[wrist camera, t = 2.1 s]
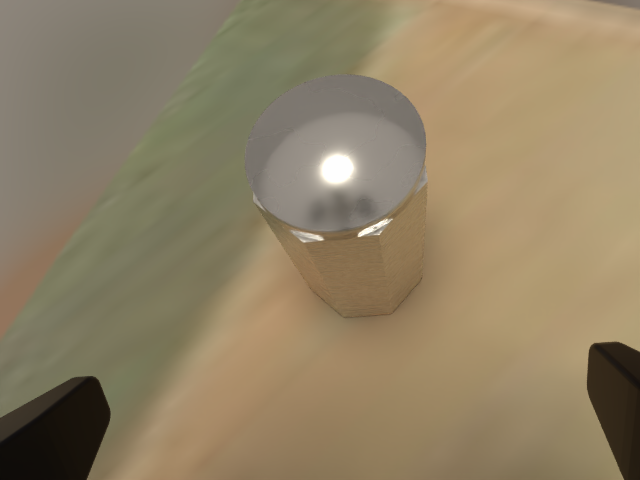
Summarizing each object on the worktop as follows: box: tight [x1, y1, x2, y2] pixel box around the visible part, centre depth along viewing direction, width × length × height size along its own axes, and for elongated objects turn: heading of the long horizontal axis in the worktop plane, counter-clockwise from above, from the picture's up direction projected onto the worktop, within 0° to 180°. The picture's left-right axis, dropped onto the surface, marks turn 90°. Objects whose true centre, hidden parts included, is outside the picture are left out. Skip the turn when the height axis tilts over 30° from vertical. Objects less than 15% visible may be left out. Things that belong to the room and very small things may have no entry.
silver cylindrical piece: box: [245, 75, 428, 318], centre depth 19 cm, size 6×6×10 cm
